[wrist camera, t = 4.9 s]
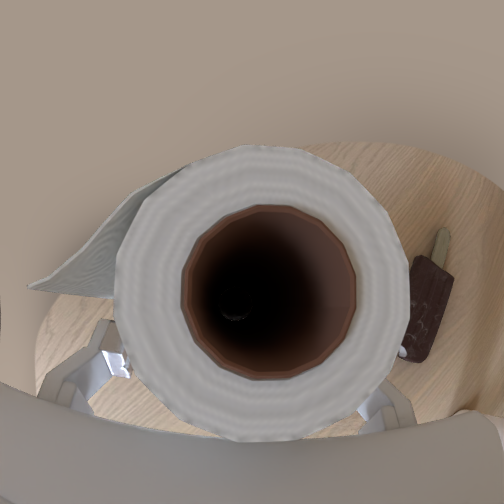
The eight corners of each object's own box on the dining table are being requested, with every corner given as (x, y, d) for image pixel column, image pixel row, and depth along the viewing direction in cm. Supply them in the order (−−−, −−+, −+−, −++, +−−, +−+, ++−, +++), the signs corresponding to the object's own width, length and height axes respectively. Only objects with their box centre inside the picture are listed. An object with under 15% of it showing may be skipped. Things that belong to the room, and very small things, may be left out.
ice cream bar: (425, 219, 30) (379, 347, 26) (433, 214, 28) (387, 349, 25) (456, 241, 29) (415, 365, 26) (464, 238, 28) (423, 367, 25)
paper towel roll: (283, 295, 27) (454, 251, 6) (244, 351, 25) (309, 491, 5) (216, 248, 27) (194, 71, 6) (176, 303, 26) (19, 286, 5)
